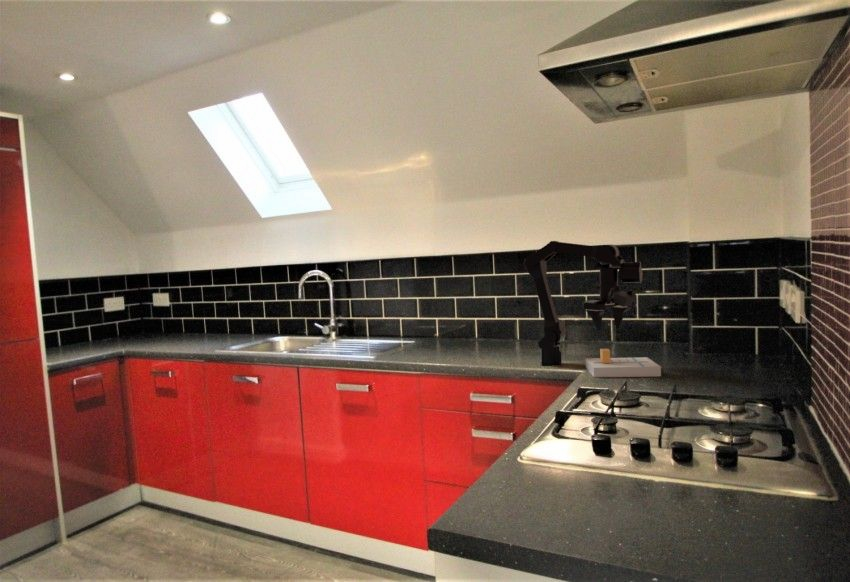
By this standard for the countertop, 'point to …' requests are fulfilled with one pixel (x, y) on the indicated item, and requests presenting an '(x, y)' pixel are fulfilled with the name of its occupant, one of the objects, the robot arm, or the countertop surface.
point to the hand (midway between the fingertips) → (608, 329)
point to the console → (623, 367)
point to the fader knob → (605, 355)
